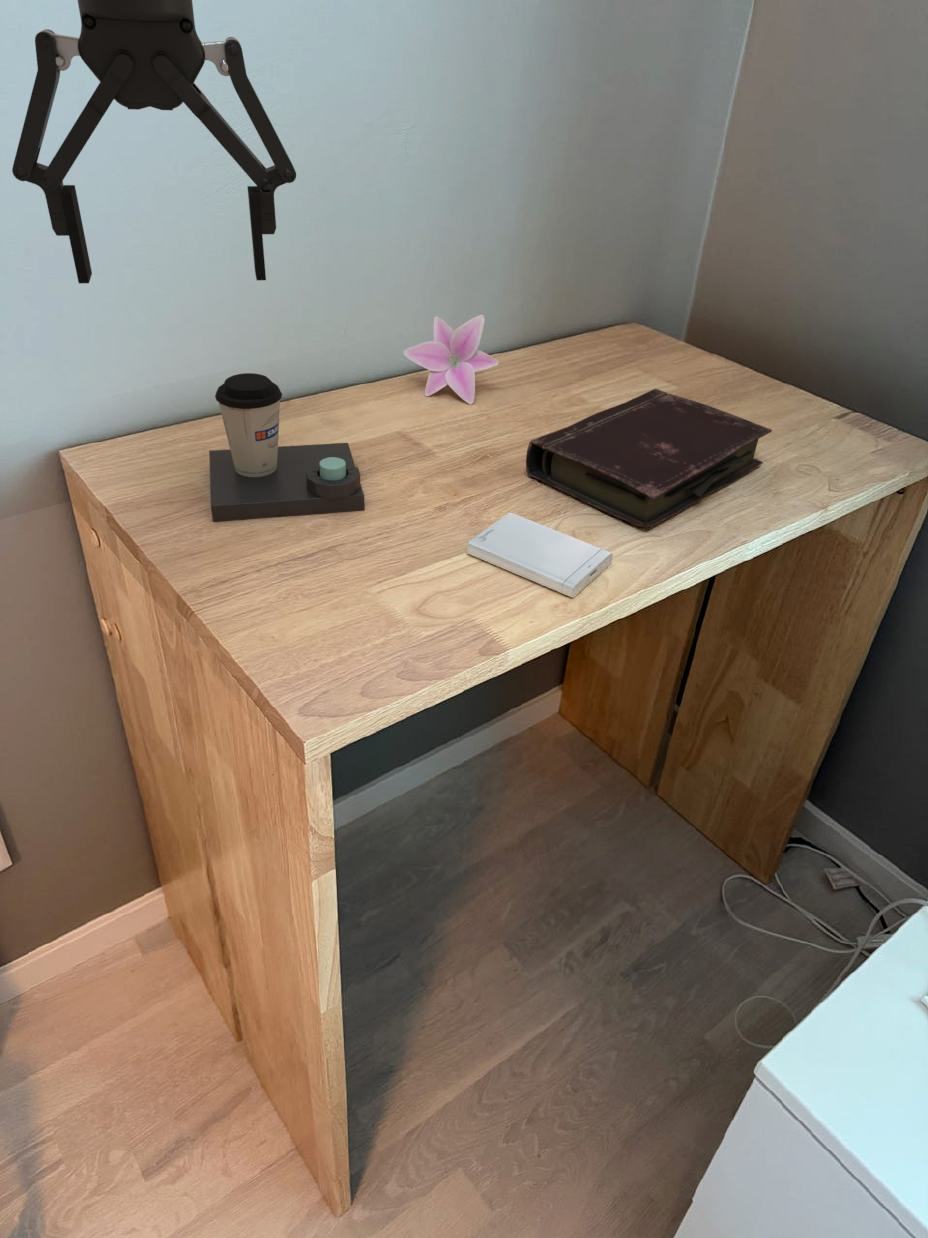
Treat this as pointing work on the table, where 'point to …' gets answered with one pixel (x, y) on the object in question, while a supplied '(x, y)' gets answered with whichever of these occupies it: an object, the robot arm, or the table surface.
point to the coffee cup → (251, 422)
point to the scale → (284, 485)
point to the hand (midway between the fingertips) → (174, 277)
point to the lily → (453, 357)
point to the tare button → (332, 468)
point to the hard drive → (540, 554)
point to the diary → (647, 456)
